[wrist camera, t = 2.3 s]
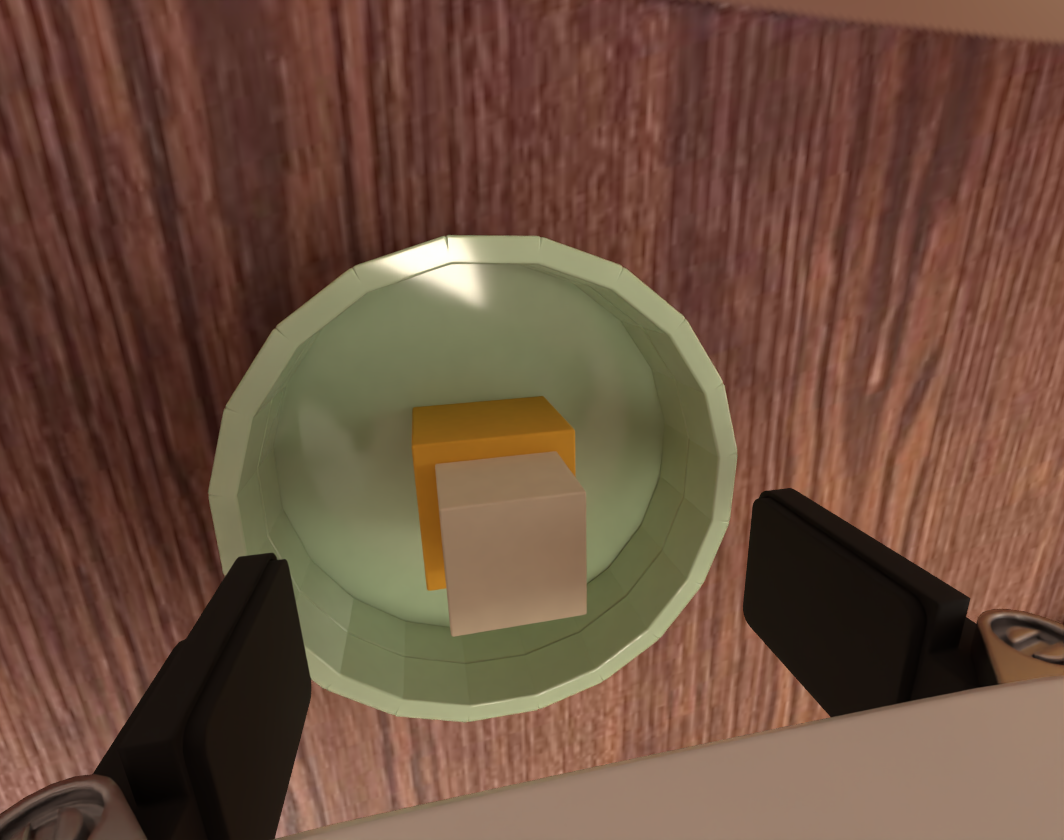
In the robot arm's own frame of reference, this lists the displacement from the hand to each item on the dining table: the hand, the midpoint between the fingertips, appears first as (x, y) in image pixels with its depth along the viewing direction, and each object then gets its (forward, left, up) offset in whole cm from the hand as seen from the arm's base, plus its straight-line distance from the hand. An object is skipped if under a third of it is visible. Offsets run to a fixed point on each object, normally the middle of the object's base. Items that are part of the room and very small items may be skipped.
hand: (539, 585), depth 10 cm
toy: (0, 0, -7) cm, 7 cm away
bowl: (0, 0, -7) cm, 7 cm away
